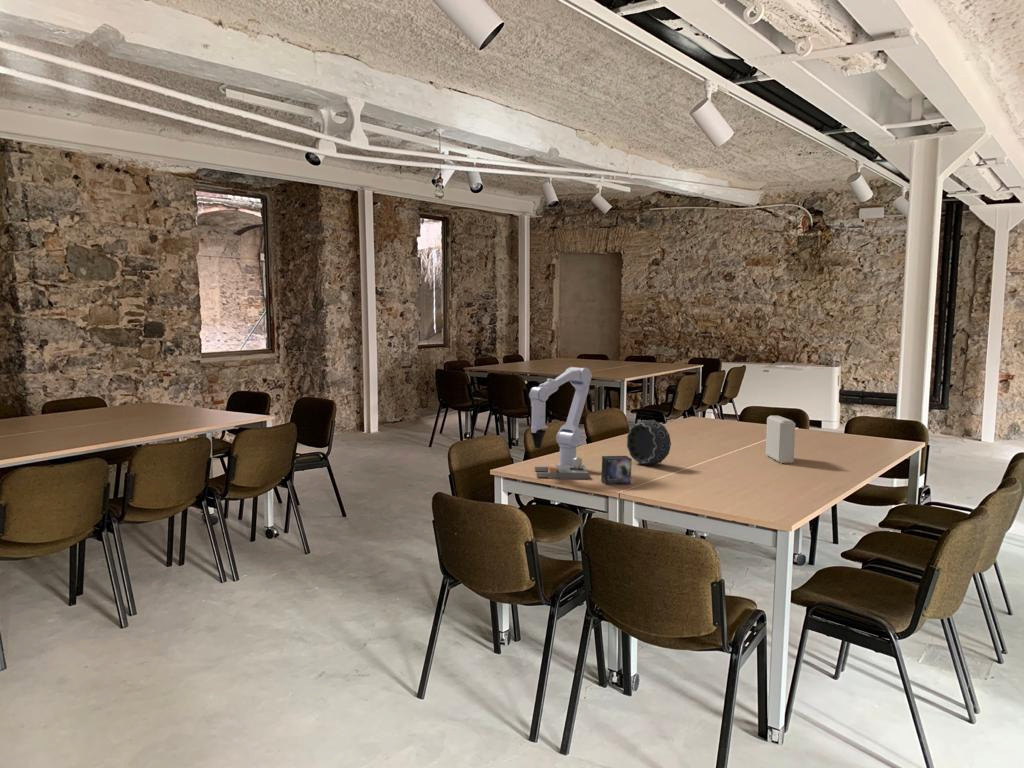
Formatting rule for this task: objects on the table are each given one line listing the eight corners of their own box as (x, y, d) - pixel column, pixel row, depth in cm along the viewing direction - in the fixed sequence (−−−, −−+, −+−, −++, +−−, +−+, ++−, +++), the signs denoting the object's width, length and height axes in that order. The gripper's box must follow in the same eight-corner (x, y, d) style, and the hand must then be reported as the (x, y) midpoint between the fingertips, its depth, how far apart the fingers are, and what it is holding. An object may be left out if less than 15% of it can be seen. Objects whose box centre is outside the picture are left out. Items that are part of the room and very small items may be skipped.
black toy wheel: (640, 459, 349) (641, 417, 347) (672, 467, 333) (674, 422, 331) (623, 462, 343) (624, 418, 341) (655, 469, 326) (657, 423, 325)
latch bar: (548, 472, 316) (548, 463, 316) (555, 472, 317) (555, 464, 316) (549, 477, 307) (550, 468, 306) (557, 477, 307) (557, 468, 306)
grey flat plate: (534, 470, 319) (534, 464, 319) (583, 471, 320) (583, 465, 320) (536, 478, 303) (536, 472, 303) (588, 479, 304) (588, 472, 304)
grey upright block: (796, 464, 344) (798, 421, 342) (779, 464, 344) (781, 420, 342) (781, 456, 365) (783, 415, 363) (764, 456, 365) (766, 415, 363)
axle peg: (572, 474, 313) (572, 457, 313) (580, 474, 314) (580, 457, 313) (573, 475, 310) (574, 459, 309) (582, 475, 310) (582, 459, 310)
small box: (605, 485, 293) (606, 458, 292) (600, 481, 299) (601, 455, 299) (631, 484, 295) (632, 458, 294) (625, 481, 301) (626, 455, 301)
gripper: (543, 418, 306) (542, 451, 307) (552, 414, 320) (551, 445, 321) (526, 417, 308) (525, 449, 310) (536, 413, 322) (535, 444, 323)
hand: (537, 447), depth 315 cm, fingers closed
